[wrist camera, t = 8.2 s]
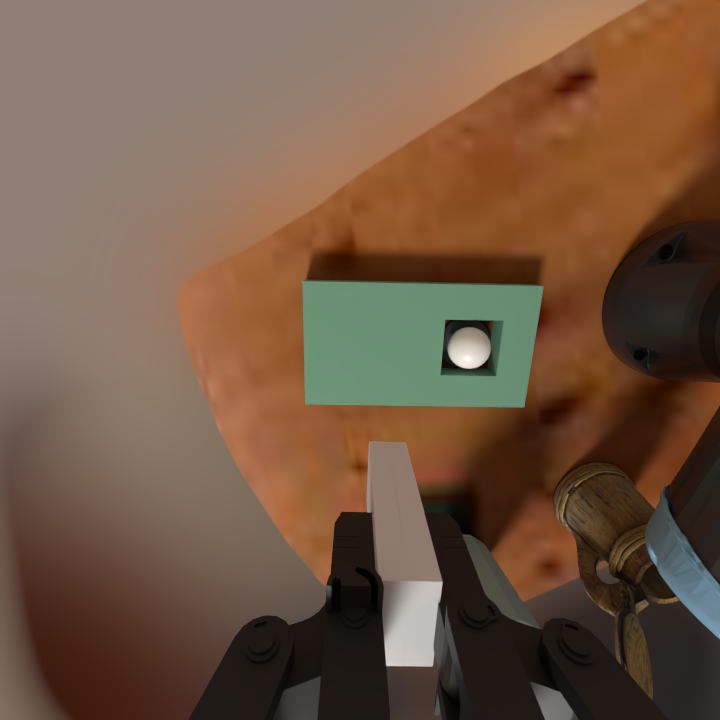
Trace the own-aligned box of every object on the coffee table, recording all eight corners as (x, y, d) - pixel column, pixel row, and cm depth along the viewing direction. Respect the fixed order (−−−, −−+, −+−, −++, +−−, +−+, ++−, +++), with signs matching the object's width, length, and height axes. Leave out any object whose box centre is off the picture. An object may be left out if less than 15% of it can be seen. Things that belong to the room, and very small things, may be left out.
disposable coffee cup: (451, 600, 46) (495, 756, 32) (396, 550, 44) (417, 694, 29) (518, 554, 44) (597, 698, 30) (465, 500, 42) (522, 627, 28)
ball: (502, 329, 33) (474, 333, 31) (496, 370, 35) (469, 376, 32) (468, 322, 37) (440, 325, 34) (464, 360, 38) (437, 365, 36)
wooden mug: (504, 507, 42) (608, 680, 25) (610, 448, 40) (801, 591, 23) (539, 556, 44) (656, 748, 27) (641, 503, 42) (837, 672, 25)
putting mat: (530, 284, 35) (543, 286, 33) (513, 397, 38) (524, 407, 36) (306, 279, 35) (302, 281, 32) (308, 394, 38) (305, 404, 36)
